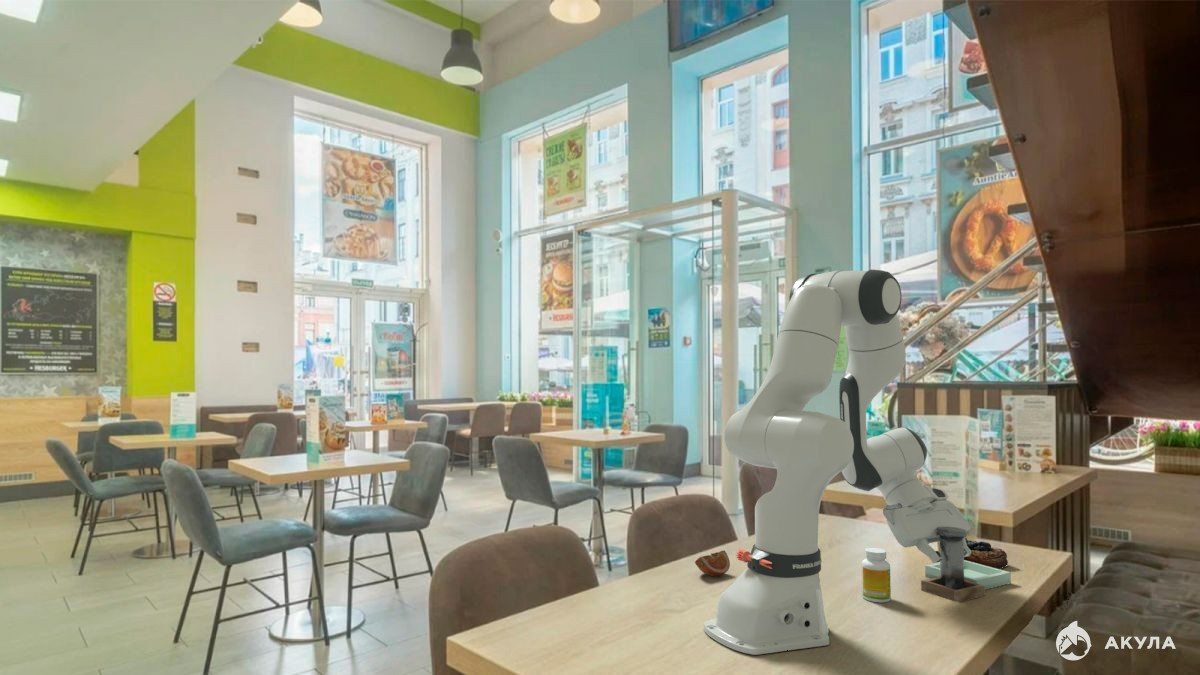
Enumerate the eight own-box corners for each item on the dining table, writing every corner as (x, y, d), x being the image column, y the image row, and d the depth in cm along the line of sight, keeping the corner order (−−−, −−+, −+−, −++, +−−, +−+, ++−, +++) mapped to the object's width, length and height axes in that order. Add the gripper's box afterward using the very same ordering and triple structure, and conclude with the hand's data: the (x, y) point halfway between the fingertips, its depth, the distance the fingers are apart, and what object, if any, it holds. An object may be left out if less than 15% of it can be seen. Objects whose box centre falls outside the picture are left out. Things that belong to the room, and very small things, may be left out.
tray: (976, 592, 142) (976, 580, 142) (925, 576, 153) (925, 565, 153) (1010, 583, 148) (1010, 572, 148) (959, 569, 159) (958, 558, 159)
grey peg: (956, 599, 138) (955, 534, 139) (931, 591, 143) (930, 528, 143) (973, 594, 141) (972, 531, 141) (948, 587, 146) (947, 525, 146)
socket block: (958, 602, 136) (958, 592, 136) (921, 590, 144) (921, 580, 144) (984, 595, 140) (984, 585, 140) (946, 584, 147) (946, 574, 148)
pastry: (970, 555, 171) (970, 531, 171) (1016, 568, 160) (1015, 543, 160) (938, 560, 167) (938, 535, 167) (983, 574, 156) (982, 548, 156)
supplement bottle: (893, 604, 135) (892, 554, 135) (864, 602, 136) (864, 552, 136) (887, 595, 140) (886, 547, 141) (860, 593, 141) (859, 546, 142)
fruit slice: (709, 582, 148) (709, 559, 148) (687, 575, 153) (687, 552, 154) (735, 575, 153) (735, 553, 153) (713, 568, 159) (713, 546, 159)
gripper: (887, 498, 144) (930, 556, 135) (949, 490, 154) (992, 543, 145) (870, 515, 148) (910, 573, 139) (931, 506, 158) (973, 559, 149)
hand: (953, 558), depth 142 cm, fingers open, 8 cm apart
